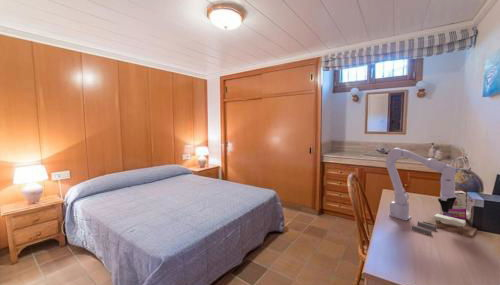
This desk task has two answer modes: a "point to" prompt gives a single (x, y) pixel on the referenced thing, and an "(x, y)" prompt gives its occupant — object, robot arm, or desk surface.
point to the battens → (423, 228)
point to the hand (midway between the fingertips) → (447, 210)
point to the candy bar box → (457, 206)
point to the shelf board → (450, 220)
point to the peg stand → (451, 227)
